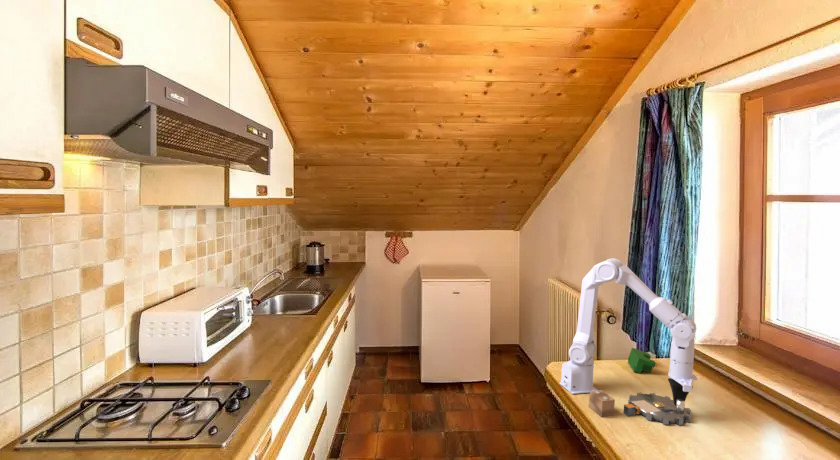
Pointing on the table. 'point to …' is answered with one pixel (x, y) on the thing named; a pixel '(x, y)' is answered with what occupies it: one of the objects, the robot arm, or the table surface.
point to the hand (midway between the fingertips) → (678, 405)
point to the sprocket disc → (660, 408)
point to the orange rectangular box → (629, 410)
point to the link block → (601, 403)
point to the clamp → (640, 361)
